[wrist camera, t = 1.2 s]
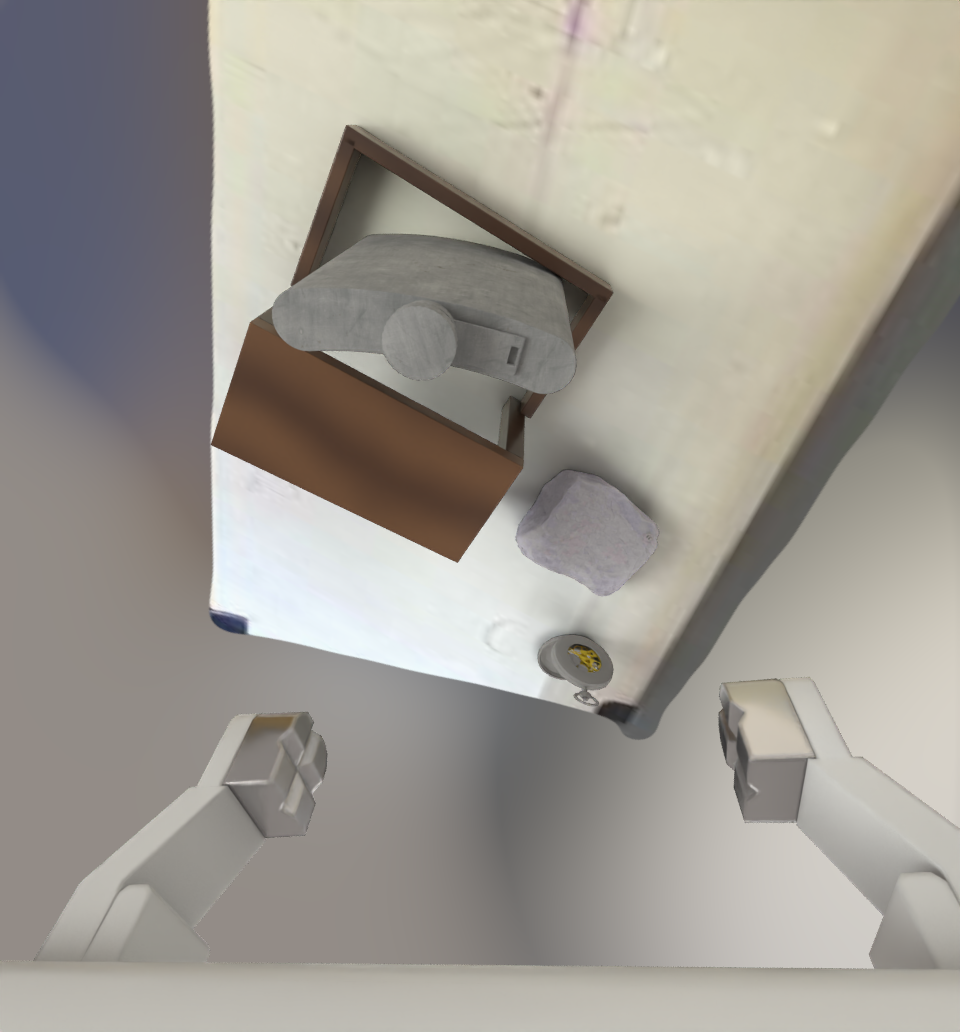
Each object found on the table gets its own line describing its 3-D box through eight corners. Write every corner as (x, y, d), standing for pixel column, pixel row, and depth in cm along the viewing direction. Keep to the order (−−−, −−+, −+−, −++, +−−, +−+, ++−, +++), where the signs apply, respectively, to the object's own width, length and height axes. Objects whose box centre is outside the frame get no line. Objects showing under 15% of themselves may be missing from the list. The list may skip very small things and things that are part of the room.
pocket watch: (544, 676, 69) (546, 752, 61) (528, 625, 65) (527, 699, 56) (615, 667, 67) (627, 744, 59) (603, 613, 63) (614, 688, 55)
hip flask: (355, 275, 46) (254, 361, 29) (357, 217, 44) (249, 275, 27) (557, 312, 46) (570, 418, 30) (569, 257, 44) (592, 338, 27)
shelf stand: (355, 124, 40) (302, 124, 31) (610, 284, 45) (630, 326, 36) (263, 384, 51) (203, 441, 42) (474, 492, 56) (463, 565, 47)
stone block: (563, 449, 55) (506, 534, 58) (573, 466, 50) (512, 558, 54) (663, 506, 58) (604, 584, 61) (682, 527, 53) (617, 610, 57)
